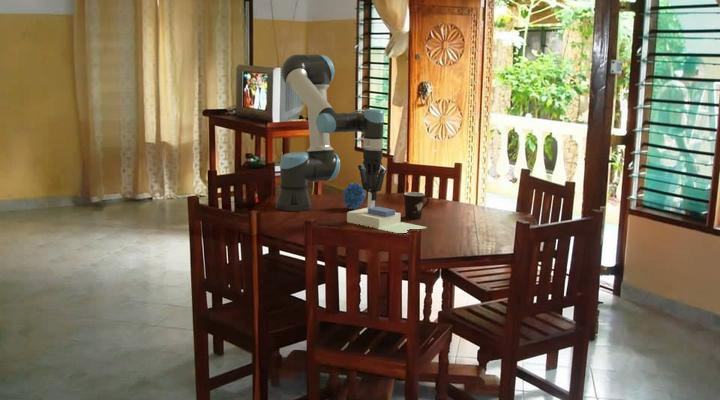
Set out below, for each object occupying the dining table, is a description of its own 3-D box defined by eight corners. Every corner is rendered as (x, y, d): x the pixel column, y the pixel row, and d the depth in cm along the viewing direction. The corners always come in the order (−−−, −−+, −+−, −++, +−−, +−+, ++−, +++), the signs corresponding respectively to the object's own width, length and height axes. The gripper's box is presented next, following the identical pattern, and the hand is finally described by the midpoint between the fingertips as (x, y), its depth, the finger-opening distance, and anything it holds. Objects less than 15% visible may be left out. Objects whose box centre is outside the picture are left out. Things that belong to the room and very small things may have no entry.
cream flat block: (346, 221, 306) (347, 212, 305) (368, 216, 317) (369, 207, 316) (378, 228, 296) (379, 218, 295) (400, 223, 307) (400, 213, 306)
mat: (377, 229, 295) (377, 228, 295) (401, 222, 308) (401, 222, 308) (402, 234, 288) (402, 234, 288) (426, 227, 300) (426, 227, 300)
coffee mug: (405, 220, 312) (406, 196, 310) (400, 215, 320) (401, 192, 318) (433, 220, 314) (434, 195, 312) (427, 215, 323) (428, 191, 321)
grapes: (370, 210, 329) (371, 182, 327) (361, 212, 324) (362, 184, 321) (349, 206, 336) (349, 178, 334) (339, 208, 331) (340, 180, 328)
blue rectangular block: (367, 213, 304) (367, 208, 303) (377, 211, 308) (377, 206, 308) (385, 217, 298) (386, 212, 298) (395, 214, 303) (395, 209, 302)
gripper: (354, 148, 303) (352, 207, 307) (380, 151, 295) (378, 212, 299) (365, 146, 308) (364, 204, 313) (392, 150, 300) (389, 209, 305)
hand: (371, 208), depth 306 cm, fingers closed
